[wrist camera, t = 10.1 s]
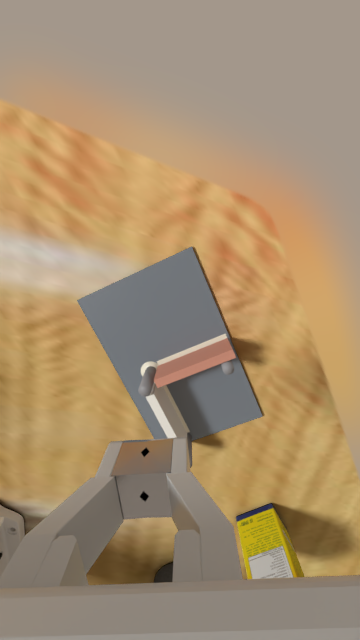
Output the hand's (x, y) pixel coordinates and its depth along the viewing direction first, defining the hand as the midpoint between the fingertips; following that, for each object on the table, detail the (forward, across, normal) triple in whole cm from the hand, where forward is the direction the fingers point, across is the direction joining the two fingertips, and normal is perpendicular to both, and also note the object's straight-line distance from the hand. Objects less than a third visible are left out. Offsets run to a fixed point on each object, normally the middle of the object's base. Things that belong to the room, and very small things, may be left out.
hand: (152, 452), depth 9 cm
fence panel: (+19, -2, +4) cm, 19 cm away
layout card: (+20, 0, +5) cm, 20 cm away
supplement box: (+20, -10, +32) cm, 39 cm away
